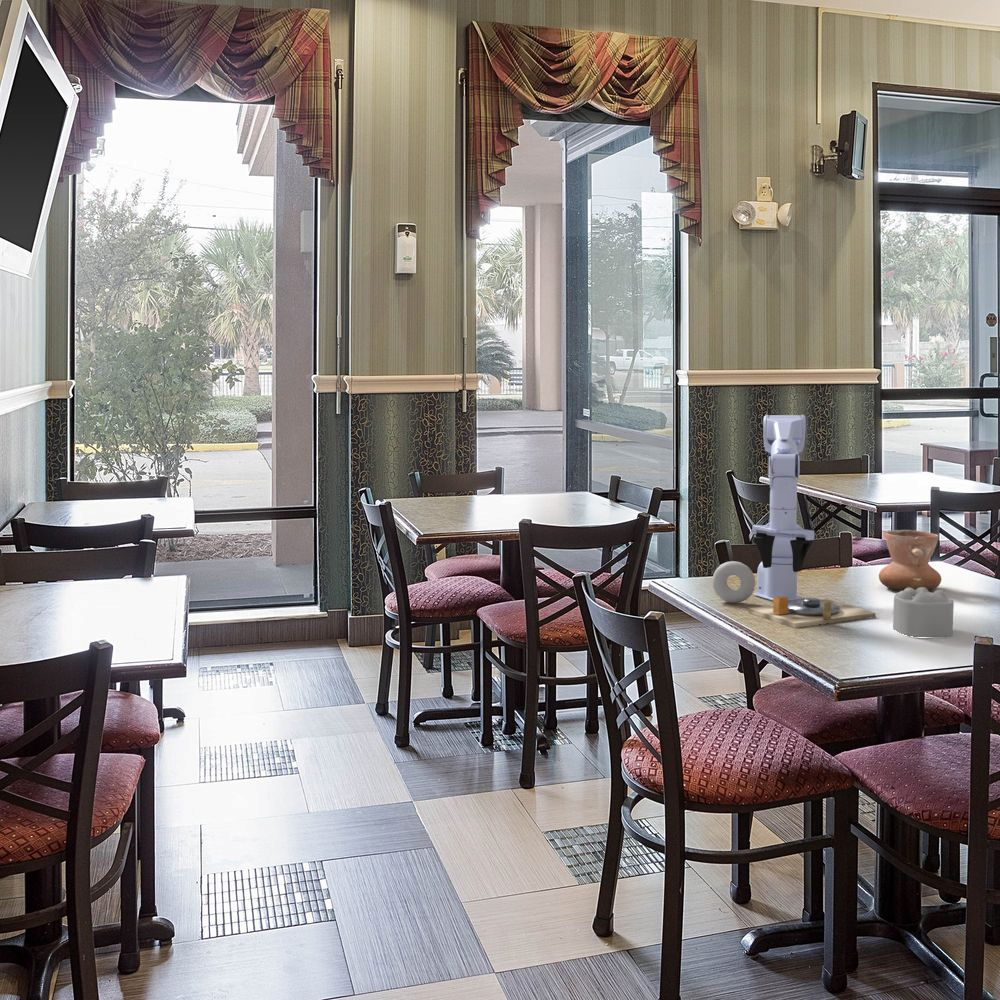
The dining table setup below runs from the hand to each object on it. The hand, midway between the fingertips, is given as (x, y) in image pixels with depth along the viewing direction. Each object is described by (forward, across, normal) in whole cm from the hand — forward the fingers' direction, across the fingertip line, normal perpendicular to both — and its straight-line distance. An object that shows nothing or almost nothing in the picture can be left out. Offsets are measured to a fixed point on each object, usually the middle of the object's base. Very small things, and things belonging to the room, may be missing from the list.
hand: (781, 569), depth 237 cm
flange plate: (+9, +3, +4) cm, 11 cm away
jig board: (+10, +4, +6) cm, 13 cm away
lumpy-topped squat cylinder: (+11, +27, +10) cm, 31 cm away
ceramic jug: (+10, +5, +48) cm, 49 cm away
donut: (+11, -16, +4) cm, 20 cm away
